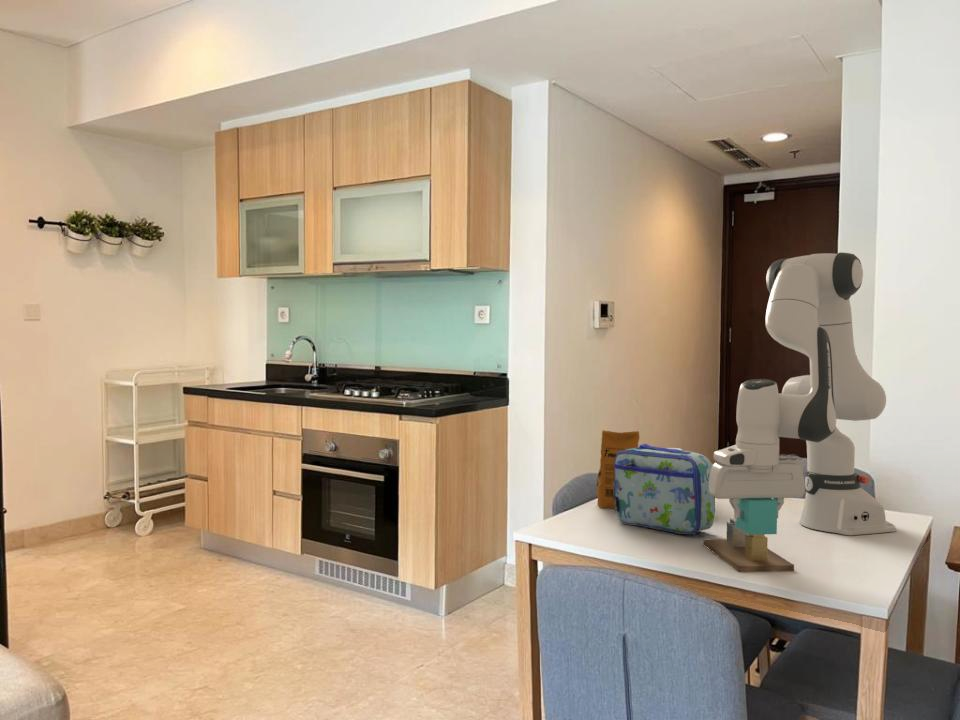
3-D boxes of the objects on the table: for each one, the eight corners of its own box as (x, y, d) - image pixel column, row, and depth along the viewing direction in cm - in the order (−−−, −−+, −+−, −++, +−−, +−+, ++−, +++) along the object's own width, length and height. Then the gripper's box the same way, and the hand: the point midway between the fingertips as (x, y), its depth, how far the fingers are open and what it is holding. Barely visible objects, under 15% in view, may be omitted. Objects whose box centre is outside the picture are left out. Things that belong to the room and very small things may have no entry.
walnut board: (752, 543, 176) (752, 538, 176) (794, 570, 156) (794, 565, 156) (703, 544, 175) (703, 539, 175) (738, 572, 156) (738, 566, 155)
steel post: (740, 543, 173) (741, 517, 172) (747, 547, 169) (747, 521, 169) (726, 543, 172) (726, 517, 172) (732, 547, 169) (732, 521, 169)
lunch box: (607, 521, 197) (608, 443, 196) (631, 515, 204) (631, 439, 203) (695, 542, 178) (696, 455, 177) (718, 533, 185) (719, 450, 184)
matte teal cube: (763, 526, 164) (764, 494, 164) (776, 534, 158) (777, 501, 157) (736, 527, 163) (736, 495, 163) (748, 534, 157) (749, 501, 157)
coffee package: (597, 501, 221) (598, 427, 220) (640, 503, 218) (640, 429, 217) (595, 508, 211) (595, 432, 210) (639, 511, 208) (640, 433, 207)
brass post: (760, 556, 163) (760, 528, 162) (767, 560, 159) (767, 533, 159) (745, 556, 162) (745, 529, 162) (751, 561, 159) (752, 533, 159)
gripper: (796, 452, 164) (795, 514, 164) (706, 452, 162) (705, 515, 163) (811, 456, 158) (809, 521, 158) (717, 457, 156) (716, 522, 157)
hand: (756, 518), depth 160 cm, fingers closed on matte teal cube, 6 cm apart
